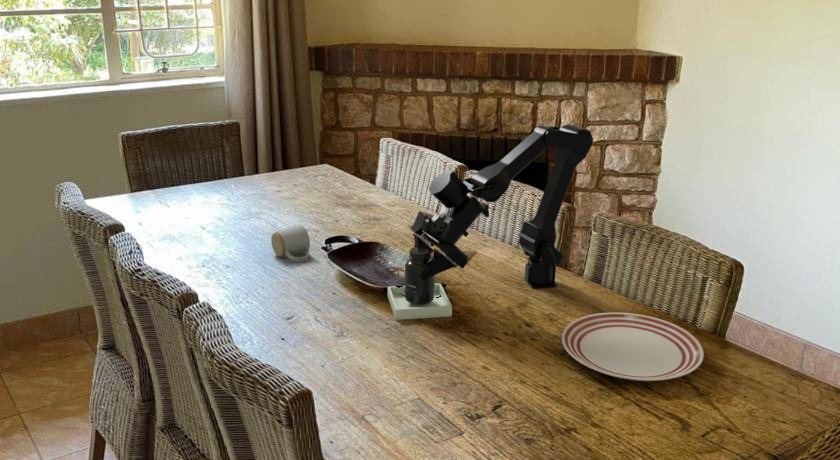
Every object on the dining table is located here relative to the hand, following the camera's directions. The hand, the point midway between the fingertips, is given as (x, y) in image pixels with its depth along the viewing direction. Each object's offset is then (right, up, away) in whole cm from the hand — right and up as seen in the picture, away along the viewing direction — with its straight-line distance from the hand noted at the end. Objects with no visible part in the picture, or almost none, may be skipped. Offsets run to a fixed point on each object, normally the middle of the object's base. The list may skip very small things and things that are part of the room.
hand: (414, 273), depth 172 cm
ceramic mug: (-32, +3, +32) cm, 45 cm away
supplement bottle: (+1, -6, +3) cm, 7 cm away
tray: (+1, -8, +3) cm, 8 cm away
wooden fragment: (+6, +1, +30) cm, 31 cm away
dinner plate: (+43, -16, -17) cm, 49 cm away
